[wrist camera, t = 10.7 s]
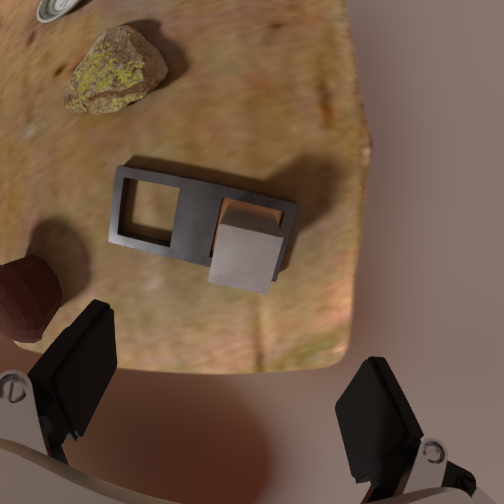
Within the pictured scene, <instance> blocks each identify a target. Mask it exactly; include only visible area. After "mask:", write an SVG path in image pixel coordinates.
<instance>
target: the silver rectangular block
mask: <svg viewBox="0 0 504 504" xmlns="http://www.w3.org/2000/svg"><path fill="white" fill-rule="evenodd" d="M282 242H283V235H282V233H281V230H280V228H279V225H278V222H277V220H276V217H275V215H274V214H270V213H266V212H262V211H258V210H253V209H249V208H245V207H240V206H236V205H231V204H229V205H228V207H227V209H226V211H225V213H224V215H223V217H222V219H221V221H220V223H219V228H218V233H217V238H216V243H215V248H214V253H213V258H212V263H211V268H210V273H209V279H208V282H211V283H215V284H220V285H224V286H229V287H233V288H238V289H243V290H248V291H252V292H257V293H262V294H268V290H269V287H270V284H271V280H272V277H273V273H274V270H275V266H276V263H277V259H278V256H279V252H280V249H281V245H282Z"/></svg>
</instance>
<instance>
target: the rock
mask: <svg viewBox="0 0 504 504" xmlns="http://www.w3.org/2000/svg"><path fill="white" fill-rule="evenodd" d="M167 72H168V67H167V65H166V63H165V61H164V59H163V58H162V56H161V54H160V52H159V51H158V50H157V48H156V47H154V46H153V45H152V44H151V43H149V42H148V41H147V40H146V39H145V38H144V37H143V36H142V34H141V33H139V32H138V31H137V30H136V29H134V28H133V27H132V26H130V25H123V26H115V27H112V28H108V29H106V30H105V31H103V32H102V33H101V34H100V35H99V37H98V38H97V40H96V41H95V42H94V44H93V46H92V47H91V50H90V51H89V52H88V53H87V55H86V56H85V58H84V59H83V61H82V62H81V63H80V64H79V66H78V67H77V68H76V70H75V71H74V73H73V76H72V78H71V80H70V82H69V84H68V86H67V89H66V92H65V100H64V106H65V108H67V110H68V111H69V112H70V113H73V114H82V115H83V114H84V113H85V114H86V113H87V112H90V113H91V114H95V115H99V114H101V113H103V114H104V113H111V112H117V111H121V110H122V109H123V108H124V107H127V105H128V104H129V103H130V102H133V101H136V100H138V99H142V97H143V96H146V93H148V92H150V91H152V90H153V89H154V88H155V87H156V86H157V85H158V84H159V83H160V82H161V81H162V80H163V79H164V78H165V77H166V74H167Z"/></svg>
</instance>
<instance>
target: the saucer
mask: <svg viewBox="0 0 504 504" xmlns="http://www.w3.org/2000/svg"><path fill="white" fill-rule="evenodd" d="M80 1H81V0H42V1H41V3H40V5H39V7H38V11H37V18H38V20H39V21H40V22H42V23H48V22H52V21H54V20H56V19H58V18H60V17H61V16H63V15H65V14H66V13H68V12H69V11H70V10H72V9H73V8H74V7H75V6H76V5H77V4H78V3H79V2H80Z"/></svg>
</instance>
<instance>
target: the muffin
mask: <svg viewBox="0 0 504 504" xmlns="http://www.w3.org/2000/svg"><path fill="white" fill-rule="evenodd" d="M61 297H62V292H61V290H60V287H59V283H58V279H57V276H56V274H55V273H54V272H53V271H52V270H51V269H50V267H49V266H48V264H47V263H46V261H45V260H42V259H39V258H37V257H35V256H33V255H30V256H27V257H24V258H21V259H18V260H15V261H12V262H9V263H6V264H4V265H0V332H1V333H2V334H4V335H5V336H6V337H8V338H10V339H11V340H14V341H18V342H22V343H35V342H37V341H39V340H41V339H42V335H43V332H44V331H45V329H46V327H47V326H48V324H49V323H50V321H51V320H52V318H53V317H54V315H55V314H56V312H57V311H58V309H59V306H60V300H61Z"/></svg>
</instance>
